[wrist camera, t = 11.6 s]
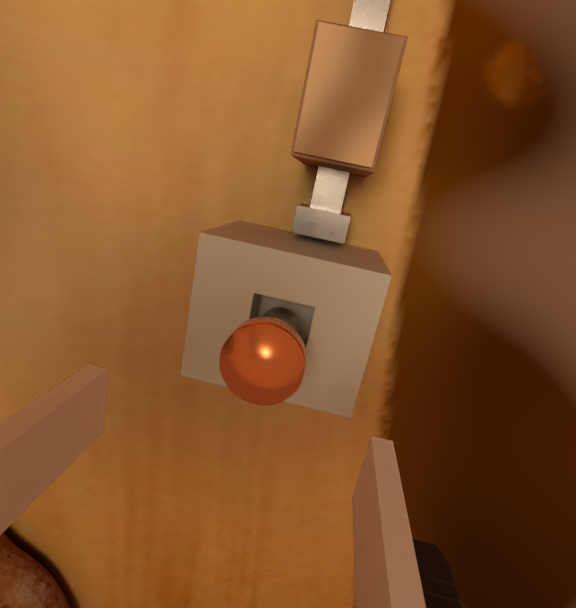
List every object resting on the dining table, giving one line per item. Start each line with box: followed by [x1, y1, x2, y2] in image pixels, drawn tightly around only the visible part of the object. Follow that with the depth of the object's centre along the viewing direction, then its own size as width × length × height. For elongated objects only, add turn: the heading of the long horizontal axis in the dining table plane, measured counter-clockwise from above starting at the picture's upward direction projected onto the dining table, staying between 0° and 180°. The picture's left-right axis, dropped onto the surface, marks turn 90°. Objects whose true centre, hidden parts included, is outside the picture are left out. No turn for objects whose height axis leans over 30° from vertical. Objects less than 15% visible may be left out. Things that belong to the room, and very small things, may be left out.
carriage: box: [291, 20, 408, 177], centre depth 27 cm, size 5×7×9 cm
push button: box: [219, 307, 307, 405], centre depth 23 cm, size 4×4×6 cm
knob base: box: [180, 221, 392, 418], centre depth 31 cm, size 12×10×10 cm
